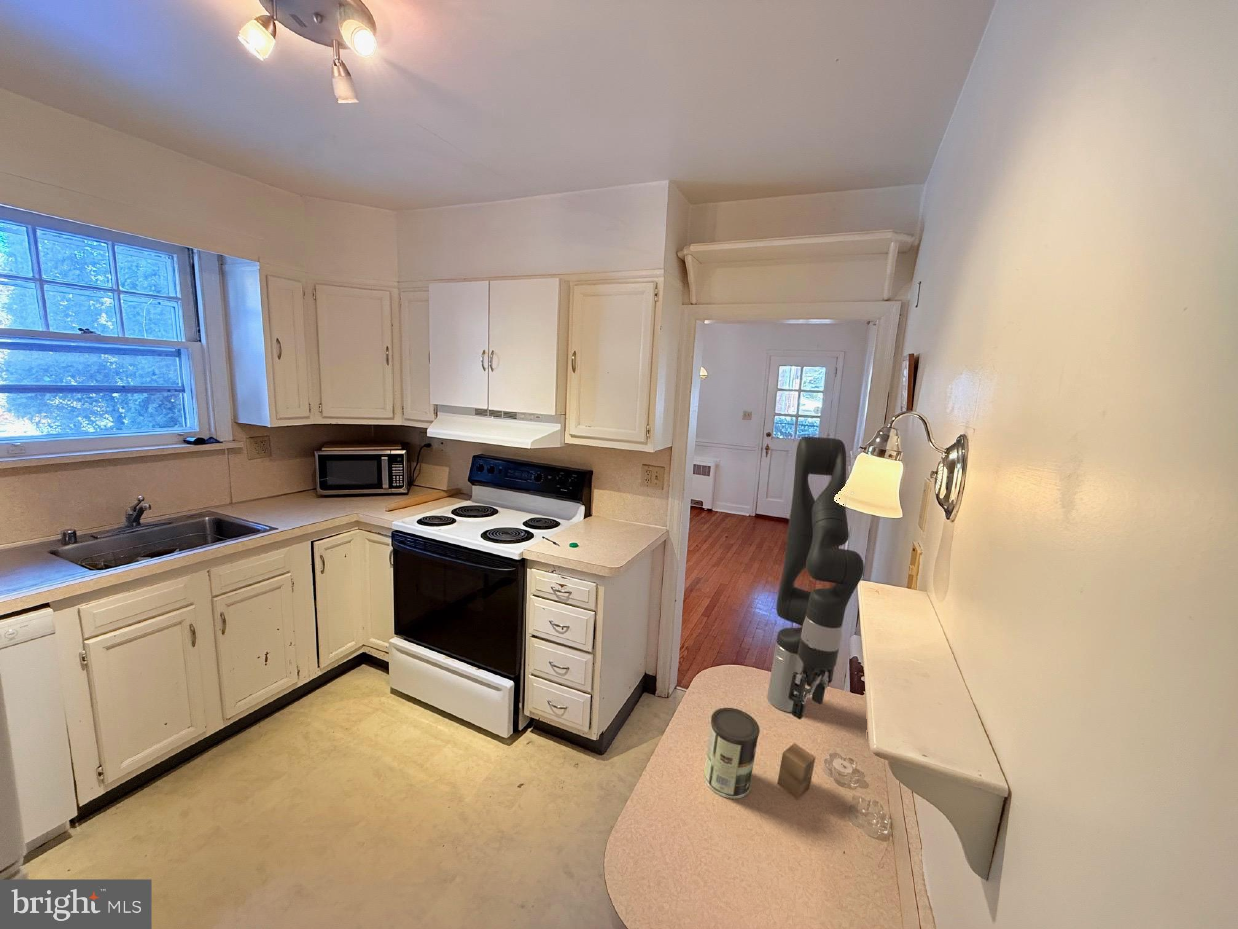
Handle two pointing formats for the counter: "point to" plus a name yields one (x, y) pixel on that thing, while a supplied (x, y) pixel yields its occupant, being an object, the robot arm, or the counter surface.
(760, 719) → the counter surface
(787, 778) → the walnut block
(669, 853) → the counter surface
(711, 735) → the coffee can
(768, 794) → the counter surface
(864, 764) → the counter surface
